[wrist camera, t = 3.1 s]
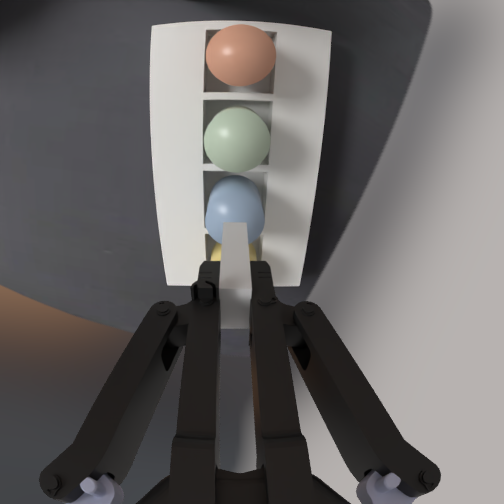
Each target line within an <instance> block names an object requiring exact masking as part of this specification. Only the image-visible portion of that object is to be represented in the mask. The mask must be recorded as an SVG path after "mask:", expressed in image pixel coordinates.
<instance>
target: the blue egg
mask: <svg viewBox="0 0 504 504" xmlns="http://www.w3.org/2000/svg"><path fill="white" fill-rule="evenodd" d="M223 222H246V223H247V234H248V244H250V243H252V242H253V241H255V240H256V239H257V238H258V237H259V236H260V234H261V233H262V231H263V228H264V223H265V218H264V212H263V208H262V203H261V198H260V194H259V190H258V188H257V186H256V185H255V184H254V182H252V181H251V180H250V179H248V178H246V177H244V176H240V175H230V176H226V177H224V178H222V179H220V180H219V181H217V182H216V183H215V185H214V186H213V188H212V190H211V193H210V197H209V202H208V207H207V212H206V217H205V225H206V229H207V231H208V233H209V235H210V236H211V237H212V238H213V239H214V240H215V241H216V242H218V243H220V244H222V234H223Z"/></svg>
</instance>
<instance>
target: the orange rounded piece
mask: <svg viewBox="0 0 504 504" xmlns="http://www.w3.org/2000/svg"><path fill="white" fill-rule="evenodd" d="M275 61H276V49H275V46H274V43H273V41H272V40H271V38H270V37H269V36H268V35H267V34H266V33H265V32H264V31H262V30H261V29H259V28H257V27H254V26H251V25H245V24H238V25H232V26H228V27H226V28H224V29H222V30H220V31H219V32H217V33H216V34H215V35H214V36H213V37H212V39H211V40H210V42H209V43H208V46H207V49H206V62H207V65H208V68H209V69H210V71H211V72H212V74H213V75H214V76H215V77H216V78H218V79H219V80H221V81H222V82H224V83H226V84H228V85H231V86H238V87H240V86H247V85H251V84H254V83H257V82H259V81H261V80H262V79H264V78H265V77H266V76H267V75H268V74H269V73H270V72H271V70H272V68H273V66H274V64H275Z"/></svg>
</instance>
